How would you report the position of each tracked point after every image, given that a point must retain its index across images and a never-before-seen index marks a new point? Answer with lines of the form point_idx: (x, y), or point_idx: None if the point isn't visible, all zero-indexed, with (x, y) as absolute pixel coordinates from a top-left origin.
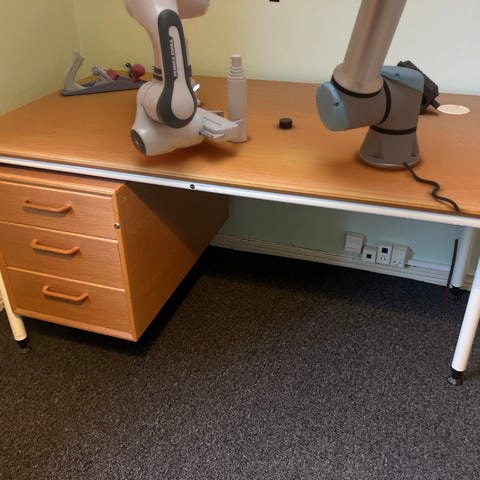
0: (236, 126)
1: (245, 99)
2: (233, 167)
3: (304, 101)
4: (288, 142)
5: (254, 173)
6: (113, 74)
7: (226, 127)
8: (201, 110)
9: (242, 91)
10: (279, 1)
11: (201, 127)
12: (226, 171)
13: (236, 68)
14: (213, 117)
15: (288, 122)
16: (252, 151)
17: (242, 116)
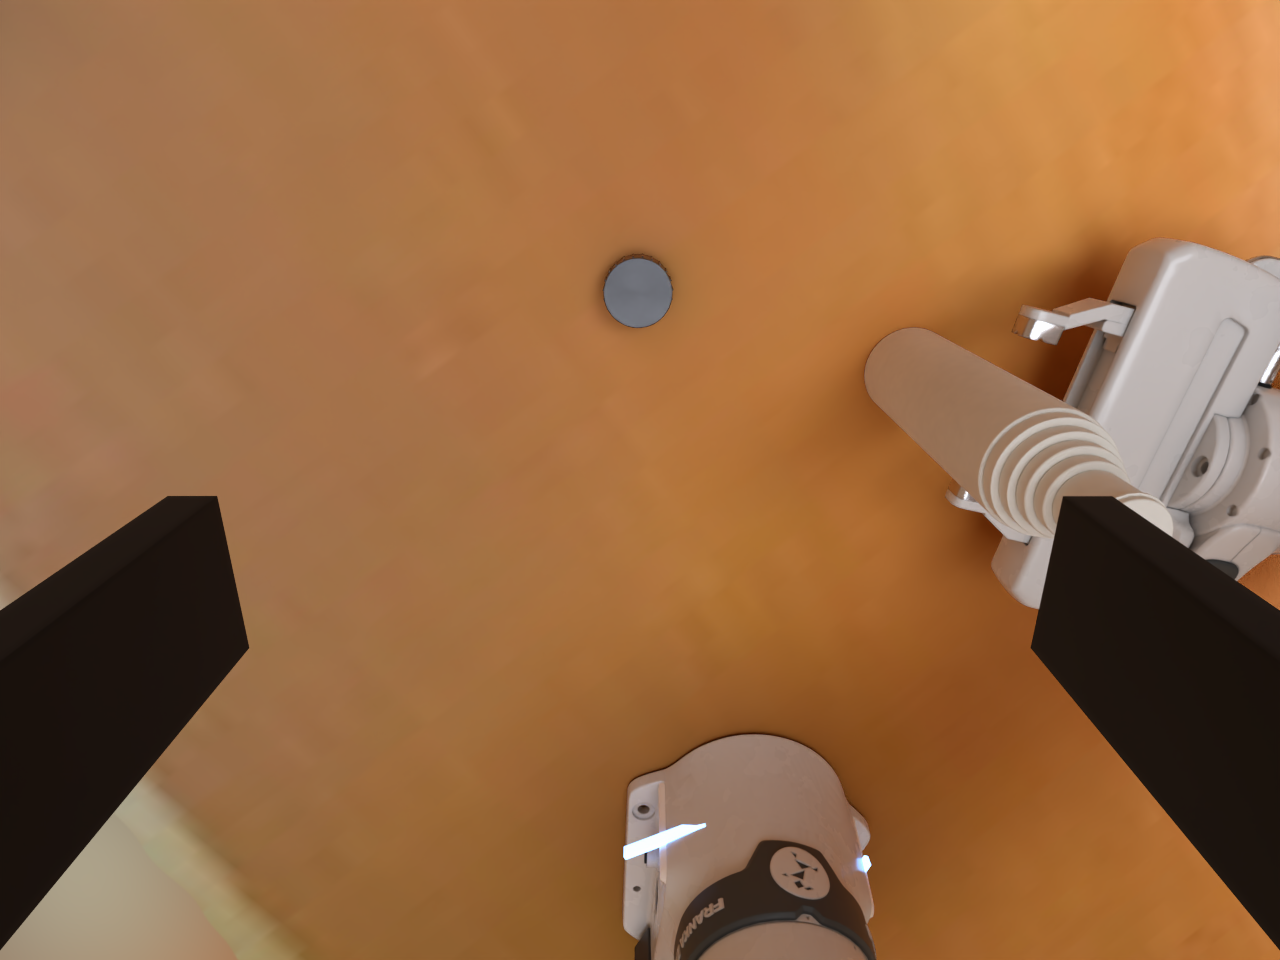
0: (1195, 244)
1: (990, 375)
2: (1220, 160)
3: (253, 444)
4: (814, 138)
5: (1244, 24)
6: None
7: (1248, 269)
8: None
9: (1041, 391)
10: (1068, 498)
11: (1267, 392)
12: (1274, 156)
13: (1125, 475)
14: (1134, 429)
15: (654, 262)
16: (1008, 213)
17: (978, 356)
